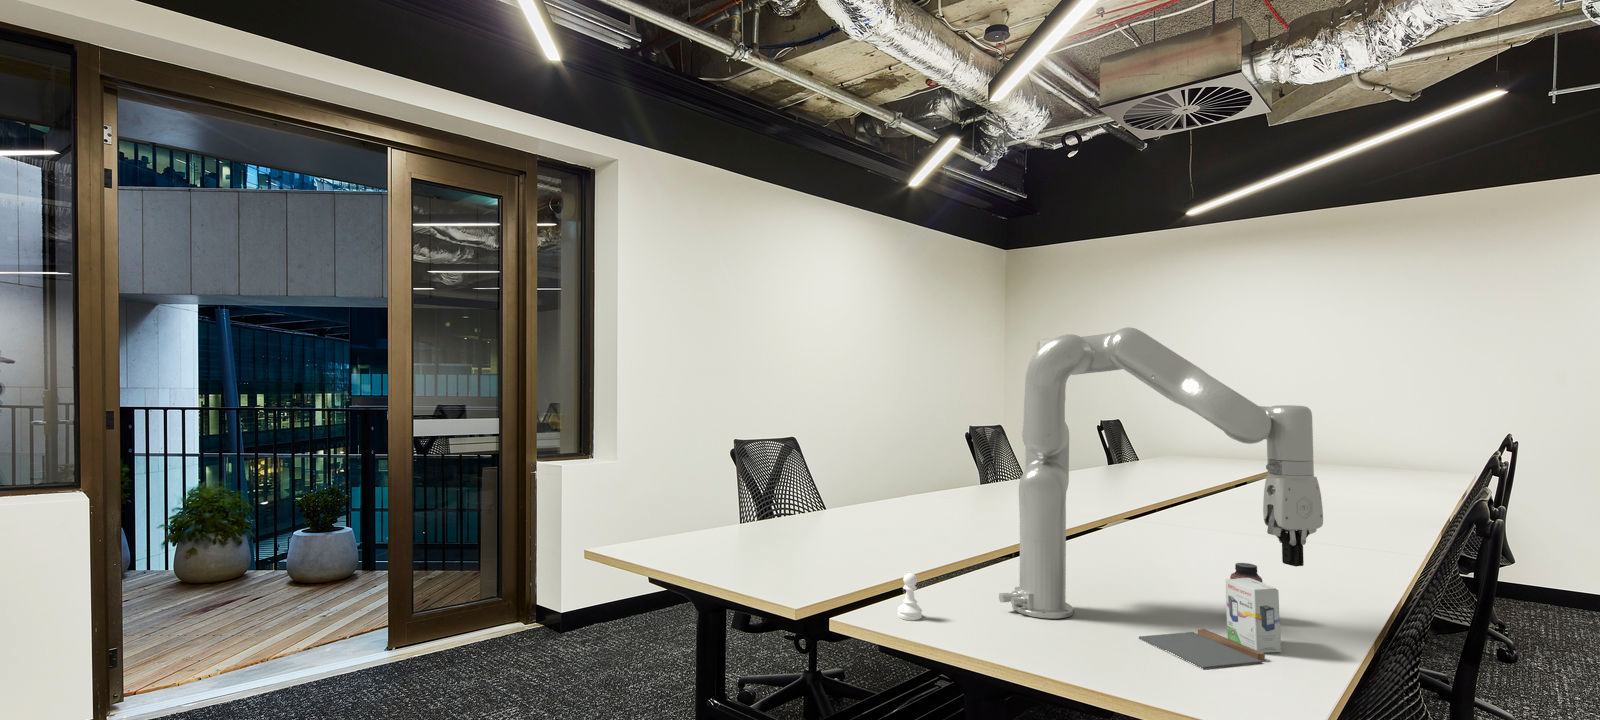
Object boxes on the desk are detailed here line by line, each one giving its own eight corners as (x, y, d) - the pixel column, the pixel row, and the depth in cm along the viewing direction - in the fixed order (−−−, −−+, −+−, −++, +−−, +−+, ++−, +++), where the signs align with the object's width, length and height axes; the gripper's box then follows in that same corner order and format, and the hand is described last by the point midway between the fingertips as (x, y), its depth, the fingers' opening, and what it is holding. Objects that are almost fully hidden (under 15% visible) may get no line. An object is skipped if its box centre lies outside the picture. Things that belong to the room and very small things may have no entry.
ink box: (1281, 653, 139) (1281, 588, 139) (1255, 654, 138) (1255, 589, 139) (1249, 637, 147) (1248, 576, 148) (1224, 638, 147) (1224, 577, 147)
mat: (1203, 669, 130) (1203, 666, 130) (1138, 638, 146) (1138, 636, 146) (1261, 663, 134) (1261, 661, 134) (1192, 633, 149) (1192, 631, 149)
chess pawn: (910, 612, 160) (911, 569, 161) (926, 618, 156) (927, 574, 156) (892, 615, 158) (893, 572, 158) (908, 622, 153) (909, 577, 154)
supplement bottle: (1267, 623, 156) (1267, 568, 157) (1236, 621, 157) (1236, 567, 158) (1256, 615, 162) (1256, 562, 162) (1225, 613, 163) (1225, 560, 164)
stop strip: (1258, 661, 135) (1258, 654, 135) (1197, 635, 148) (1197, 629, 148) (1264, 660, 135) (1264, 653, 135) (1203, 635, 148) (1203, 628, 149)
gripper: (1276, 472, 141) (1278, 571, 140) (1338, 470, 145) (1341, 566, 144) (1243, 468, 148) (1245, 562, 147) (1303, 466, 152) (1305, 558, 151)
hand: (1292, 564), depth 146 cm, fingers closed
